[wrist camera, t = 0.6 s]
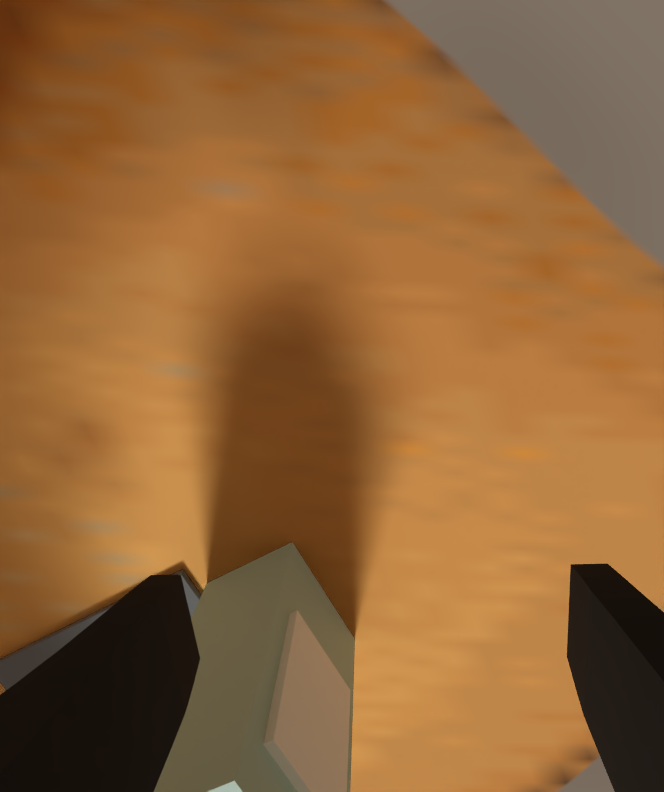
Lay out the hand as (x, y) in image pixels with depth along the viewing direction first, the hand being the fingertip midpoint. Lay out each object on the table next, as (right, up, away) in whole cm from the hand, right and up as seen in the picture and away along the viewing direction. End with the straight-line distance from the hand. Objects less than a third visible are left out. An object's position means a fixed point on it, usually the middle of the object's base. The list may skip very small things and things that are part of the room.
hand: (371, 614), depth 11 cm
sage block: (-3, -5, +12) cm, 14 cm away
